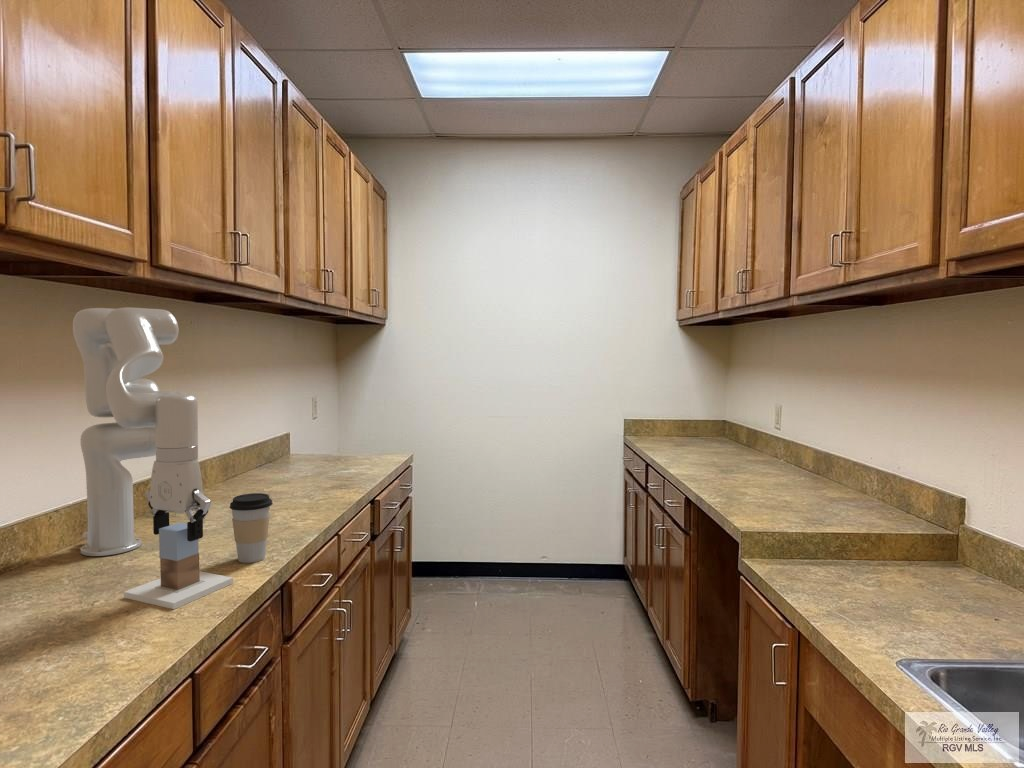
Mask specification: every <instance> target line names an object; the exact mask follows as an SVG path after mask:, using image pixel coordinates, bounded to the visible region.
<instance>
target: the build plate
mask: <svg viewBox="0 0 1024 768" xmlns="http://www.w3.org/2000/svg"><path fill="white" fill-rule="evenodd" d="M199 571H200V581H199V582H197V583H194V584H192V585H190V586H187V587H185V588H182V589H180V590H175V589H171V588H166V587H162V586H161V577H160V578H158V579H157V578H156V579H154V580H152V581H149V582H146V583H144V584H141V585H138V586H135V587H133V588H131V589H128V590H126V591H124V592H123V598H124V599H127V600H128V599H129V600H133V601H136V602H141V603H145V604H150V605H154V606H158V607H162V608H166V609H170V610H175V609H178V608H180V607H183V606H186V605H187V604H190V603H192V602H194V601H196V600H198V599H201V598H203V597H206V596H207V595H210V594H212V593H214V592H217V591H218V590H221V589H224V588H226V587H228V586H230V585H232V584H234V577H231V576H226V575H222V574H221V575H220V574H215V573H212V572H205V571H202V570H199Z"/></svg>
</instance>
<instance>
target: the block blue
mask: <svg viewBox="0 0 1024 768" xmlns="http://www.w3.org/2000/svg"><path fill="white" fill-rule="evenodd" d="M158 543H159V545H158V547H159V549H158V551H159V553H158V554H159V559H160V558H164V559H169V560H175V561H178V560H181V559H184V558H187V557H190V556H192V555H195V554H198V553H199V539H197V540H194V541H191V542H190V541H188V540H187V522H177V523H174V524H171V525H170V524H169V526H167V527H163V528H160V529H159V534H158ZM199 554H200V553H199Z"/></svg>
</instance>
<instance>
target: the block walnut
mask: <svg viewBox="0 0 1024 768" xmlns="http://www.w3.org/2000/svg"><path fill="white" fill-rule="evenodd" d="M159 559H160V561H159V564H160V567H159V568H160V569H159V570H160V578H161V586H162V587H166V588H171V589H175V590H180V589H182V588H185V587H187V586H190V585H192V584H194V583H197V582H199V581H200V571H201V570H200V553H198V554H195V555H192V556H190V557H187V558H184V559H181V560H178V561H175V560H169V559H164V558H160V557H159Z"/></svg>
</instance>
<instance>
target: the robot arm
mask: <svg viewBox="0 0 1024 768" xmlns="http://www.w3.org/2000/svg"><path fill="white" fill-rule="evenodd" d="M179 330H180V329H179V324H178V320H177V319H176V317H175V316H174V315H173V314H172V312H171V311H169V310H167V309H160V308H146V307H145V308H144V307H119V308H107V307H90V308H84V309H81V310H79V311H78V312H76V314H75V315H74V316H73V320H72V332H73V337H74V340H75V343H76V346H77V348H78V351H79V353H80V355H81V358H82V361H83V369H84V370H83V373H84V388H85V389H84V391H85V404H86V408H87V411H88V413H89V414H90V415H91V416H92V417H97V418H103V419H104V418H114V420H115V422H106V423H97V424H94V425H91V426H89V427H87V428H85V429H84V430H83V431H82V433H81V436H80V447H81V448H80V449H81V453H82V456H83V457H82V458H83V461H84V466H85V467H84V468H85V476H86V477H85V480H86V481H85V482H86V483H85V484H86V504H87V505H86V506H87V510H86V511H87V512H86V513H87V531H84V532H83V533H82V538H86V540H87V541H86V544H84V545H82V546H81V547H80V554H81V555H84V556H87V557H104V556H113V555H114V556H115V555H117V554H118V555H119V554H123V553H126V552H130V551H132V550H135V549H138V548H139V547H140V546H141V545H142V538H140V537H137V536H135V524H134V522H135V519H134V484H133V483H134V482H133V477H132V474H131V472H130V471H129V470H128V469H127V468H126V467H125V466H124V465H122V464H121V461H125V460H133V459H134V460H135V459H140V458H148V457H154V456H155V460H154V461H153V465H152V471H151V475H150V476H151V477H150V488H149V490H148V491H146V492H145V496H146V500H147V501H148V506H149V508H150V510H151V511H150V513H151V516H152V519H153V521H152V522H153V523H152V524H153V528H152V529H153V534H154V535H156V536H159V529H160V528H163V527H167V526H170V513H175V514H182V513H184V514H185V515H186V516H187V519H188V520H189V521H187V522H186V523H187V540H188V541H190V542H191V541H194V540H197V539H198V540H200V539H202V538H203V537H204V519H206V516H207V515H208V514H209V509H210V507H211V504H212V501H211V499H209V497H207V496H206V495H205V494H204V493H203V491H204V490H203V481H202V480H203V479H202V472H201V467H200V466H201V465H200V461H199V431H198V428H199V427H198V426H199V424H198V423H199V422H198V421H199V420H198V419H199V415H198V411H199V410H198V407H199V406H198V399H197V397H196V396H194V395H192V394H186V392H184V391H179V390H160V388H159V386H158V384H157V383H156V382H155V381H154V380H151V379H147V378H145V377H146V376H148V375H150V374H152V373H155V371H157V370H158V369H160V367H161V366H162V365H163V363H164V354H163V352H162V350H161V349H162V348H161V347H160V345H161V346H162V345H163V346H164V345H165V346H167V345H172V344H173V343H174V342H176V341H177V339H178V337H179V333H180V332H179ZM143 377H144V378H143ZM193 511H194V512H195V513H194V512H193Z"/></svg>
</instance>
